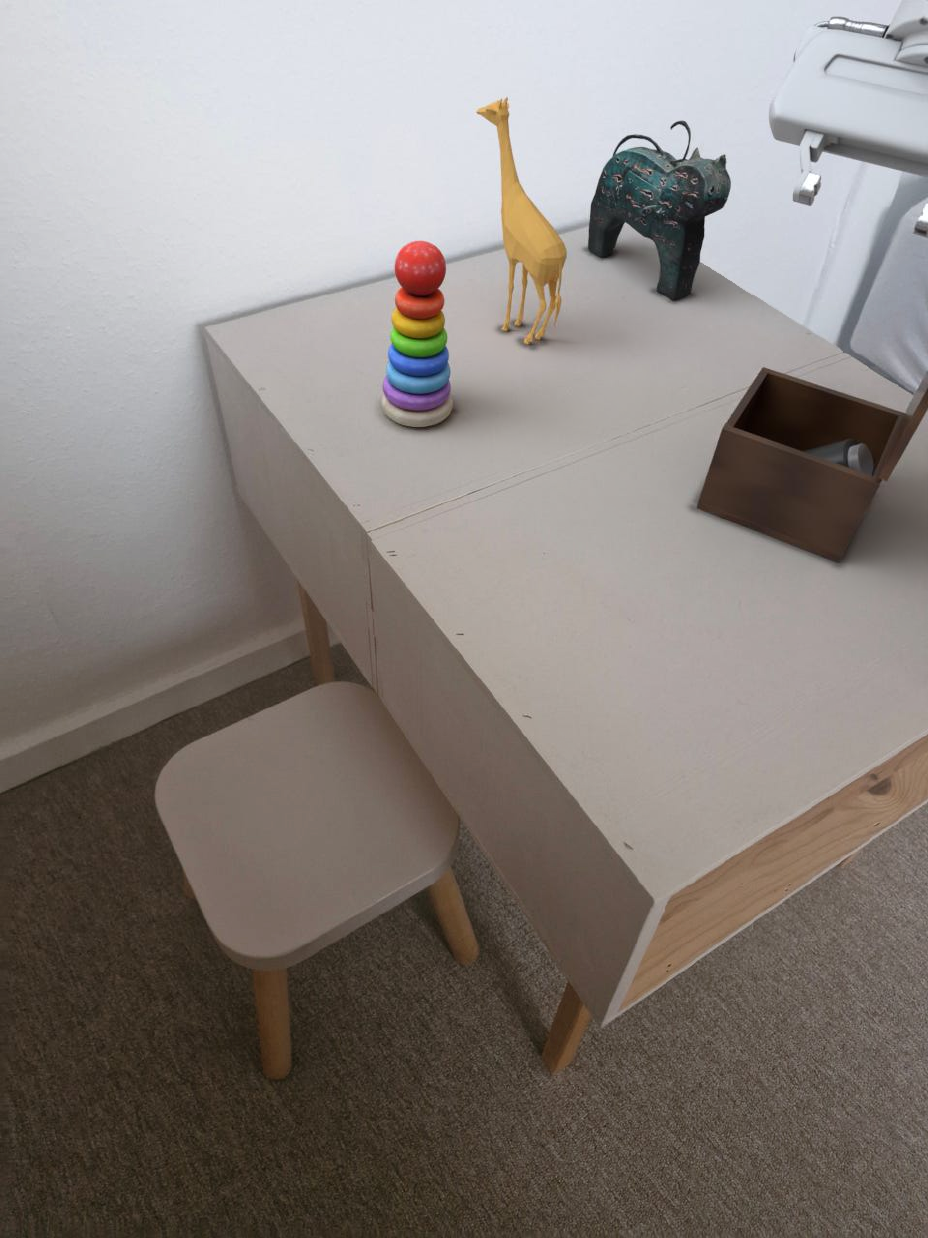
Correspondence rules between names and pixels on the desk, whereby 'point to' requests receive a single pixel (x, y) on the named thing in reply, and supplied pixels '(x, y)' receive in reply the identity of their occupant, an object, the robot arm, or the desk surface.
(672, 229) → the ceramic cat
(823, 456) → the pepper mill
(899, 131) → the robot arm
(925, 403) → the chest door
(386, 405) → the stacking toy
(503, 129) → the giraffe
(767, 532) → the chest
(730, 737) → the desk surface
